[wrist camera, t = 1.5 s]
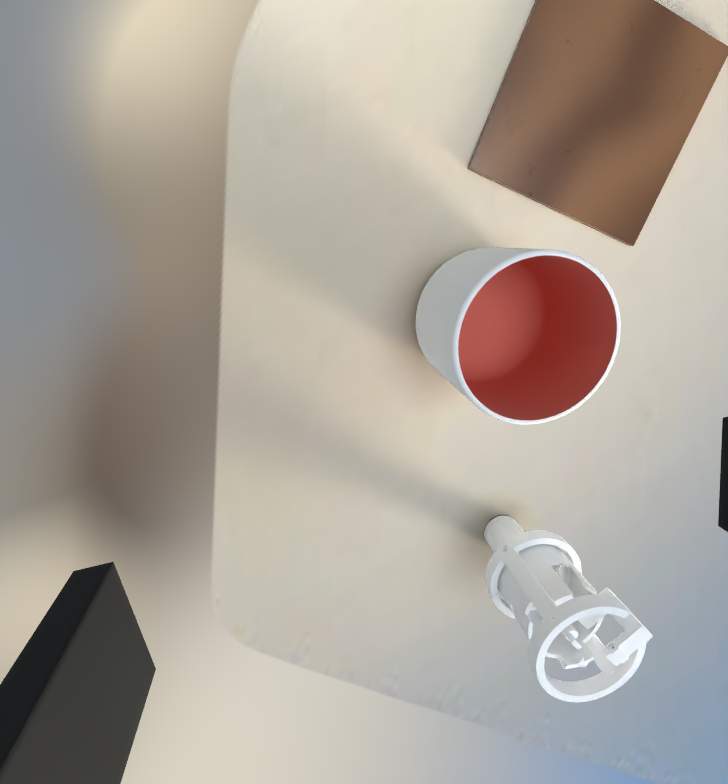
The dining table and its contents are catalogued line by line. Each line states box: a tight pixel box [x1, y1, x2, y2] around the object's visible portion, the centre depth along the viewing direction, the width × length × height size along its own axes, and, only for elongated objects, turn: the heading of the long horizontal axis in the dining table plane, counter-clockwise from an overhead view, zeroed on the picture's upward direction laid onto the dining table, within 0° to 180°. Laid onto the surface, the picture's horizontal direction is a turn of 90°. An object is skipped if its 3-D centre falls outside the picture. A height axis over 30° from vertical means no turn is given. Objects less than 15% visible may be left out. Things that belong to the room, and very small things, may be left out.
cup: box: [416, 247, 620, 424], centre depth 33 cm, size 10×10×10 cm
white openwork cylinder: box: [484, 516, 653, 702], centre depth 37 cm, size 7×7×15 cm
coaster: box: [468, 0, 728, 246], centre depth 35 cm, size 14×14×1 cm
